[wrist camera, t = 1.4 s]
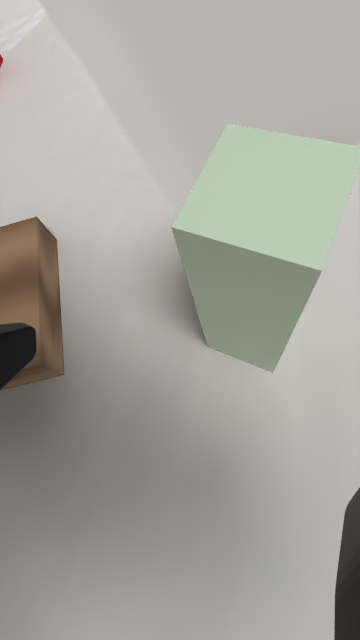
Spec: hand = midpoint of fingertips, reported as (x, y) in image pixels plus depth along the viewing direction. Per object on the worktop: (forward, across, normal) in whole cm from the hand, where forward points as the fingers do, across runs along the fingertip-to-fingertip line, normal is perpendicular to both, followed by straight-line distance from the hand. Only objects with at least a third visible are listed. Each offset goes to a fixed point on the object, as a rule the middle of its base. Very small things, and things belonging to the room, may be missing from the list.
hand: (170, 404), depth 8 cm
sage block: (+14, 0, +4) cm, 15 cm away
